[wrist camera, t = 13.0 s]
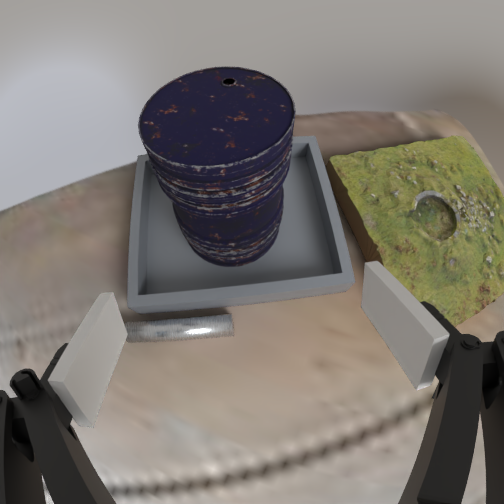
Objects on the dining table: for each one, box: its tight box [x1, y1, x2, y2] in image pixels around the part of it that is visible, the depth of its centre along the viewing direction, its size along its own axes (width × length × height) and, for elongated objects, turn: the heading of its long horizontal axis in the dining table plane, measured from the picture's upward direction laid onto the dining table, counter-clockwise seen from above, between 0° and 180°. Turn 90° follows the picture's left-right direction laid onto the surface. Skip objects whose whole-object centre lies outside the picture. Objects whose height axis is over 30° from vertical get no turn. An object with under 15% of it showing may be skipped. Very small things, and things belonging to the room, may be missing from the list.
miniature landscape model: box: [326, 136, 504, 327], centre depth 29 cm, size 22×24×5 cm
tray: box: [127, 136, 355, 314], centre depth 30 cm, size 20×17×3 cm
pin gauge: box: [125, 314, 234, 343], centre depth 26 cm, size 10×2×2 cm
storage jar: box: [138, 67, 295, 267], centre depth 24 cm, size 10×10×15 cm
